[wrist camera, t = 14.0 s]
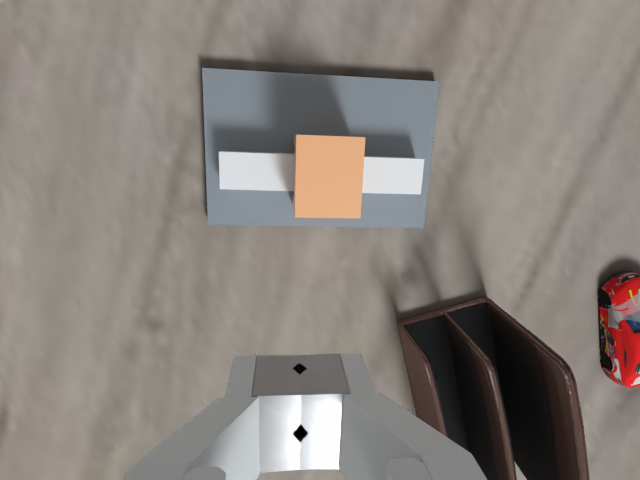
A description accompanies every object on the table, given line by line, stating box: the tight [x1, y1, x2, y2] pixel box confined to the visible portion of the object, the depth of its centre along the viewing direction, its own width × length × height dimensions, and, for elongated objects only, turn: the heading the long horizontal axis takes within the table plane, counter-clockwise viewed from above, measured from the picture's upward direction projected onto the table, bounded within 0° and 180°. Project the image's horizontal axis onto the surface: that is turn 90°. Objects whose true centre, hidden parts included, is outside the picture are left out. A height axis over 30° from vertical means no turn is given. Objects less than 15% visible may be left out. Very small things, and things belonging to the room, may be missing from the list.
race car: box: [598, 272, 640, 387], centre depth 41 cm, size 13×5×4 cm, turn 12°
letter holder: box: [398, 297, 589, 480], centre depth 36 cm, size 10×20×14 cm, turn 14°
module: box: [293, 135, 365, 219], centre depth 31 cm, size 5×6×6 cm
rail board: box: [202, 68, 440, 228], centre depth 33 cm, size 20×13×3 cm, turn 88°
